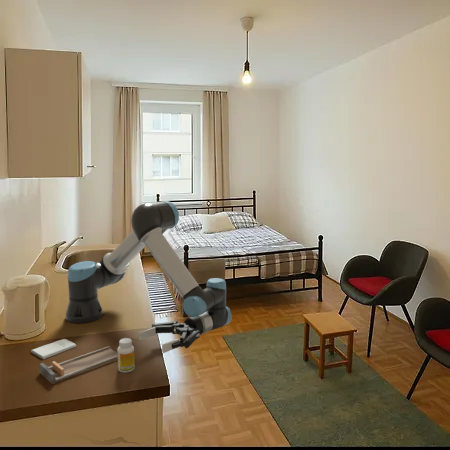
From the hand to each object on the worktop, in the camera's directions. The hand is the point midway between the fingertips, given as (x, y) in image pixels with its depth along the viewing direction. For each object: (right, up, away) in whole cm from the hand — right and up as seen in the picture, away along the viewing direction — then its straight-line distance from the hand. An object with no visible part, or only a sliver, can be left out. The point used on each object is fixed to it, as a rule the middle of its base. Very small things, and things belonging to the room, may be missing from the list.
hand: (150, 342), depth 137 cm
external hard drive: (-36, -5, +8) cm, 37 cm away
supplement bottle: (-7, -7, -6) cm, 11 cm away
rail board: (-22, -6, -4) cm, 23 cm away
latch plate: (-27, -7, -10) cm, 30 cm away
